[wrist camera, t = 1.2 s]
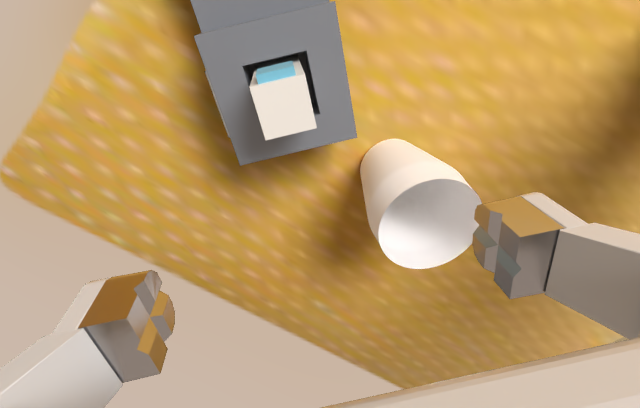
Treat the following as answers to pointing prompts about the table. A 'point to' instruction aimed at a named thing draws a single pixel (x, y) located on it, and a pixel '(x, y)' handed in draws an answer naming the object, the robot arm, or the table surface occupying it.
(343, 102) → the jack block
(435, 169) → the cup
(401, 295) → the table surface
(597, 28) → the table surface
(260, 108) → the plug
